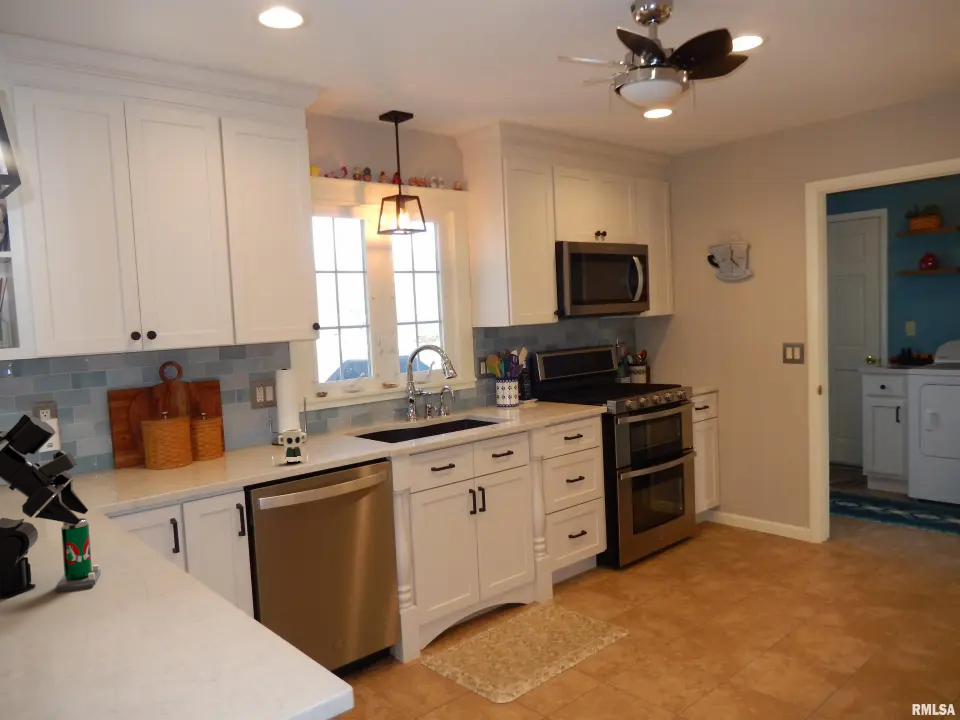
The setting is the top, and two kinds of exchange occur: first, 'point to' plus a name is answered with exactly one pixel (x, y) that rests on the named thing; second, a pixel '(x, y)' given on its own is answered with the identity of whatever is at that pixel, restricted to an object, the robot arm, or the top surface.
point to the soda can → (76, 550)
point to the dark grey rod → (74, 587)
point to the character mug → (292, 441)
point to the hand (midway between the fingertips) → (82, 517)
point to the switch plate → (90, 579)
